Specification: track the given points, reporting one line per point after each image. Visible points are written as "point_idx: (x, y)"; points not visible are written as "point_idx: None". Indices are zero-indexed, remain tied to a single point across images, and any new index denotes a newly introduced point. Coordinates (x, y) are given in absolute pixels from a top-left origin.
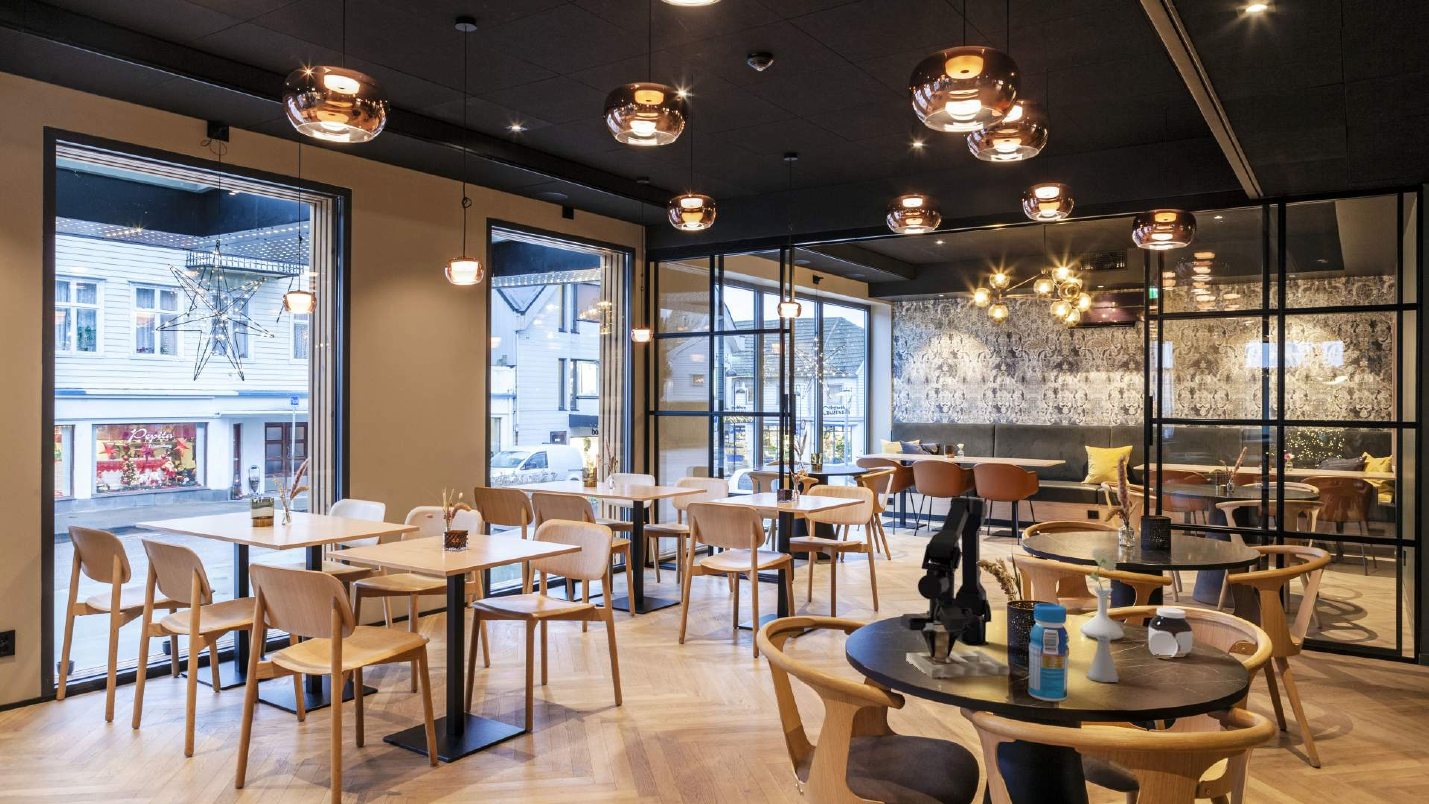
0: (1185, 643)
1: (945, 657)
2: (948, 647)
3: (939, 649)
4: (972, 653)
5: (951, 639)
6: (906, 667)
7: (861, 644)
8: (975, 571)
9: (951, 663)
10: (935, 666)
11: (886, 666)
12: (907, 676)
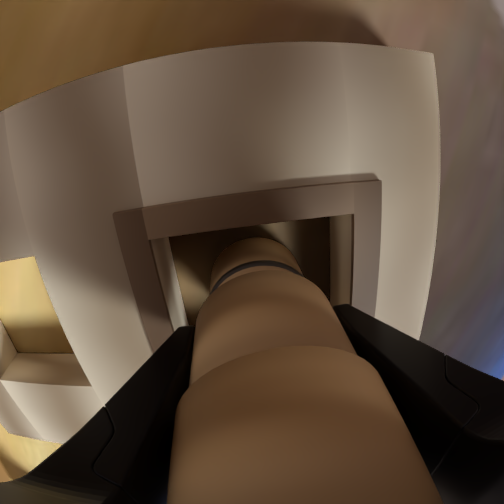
0: None
1: (235, 280)
2: (180, 387)
3: (323, 329)
4: (27, 412)
5: (132, 456)
6: (439, 293)
7: None
8: None
9: (194, 200)
10: (380, 127)
11: (499, 299)
12: (500, 130)
